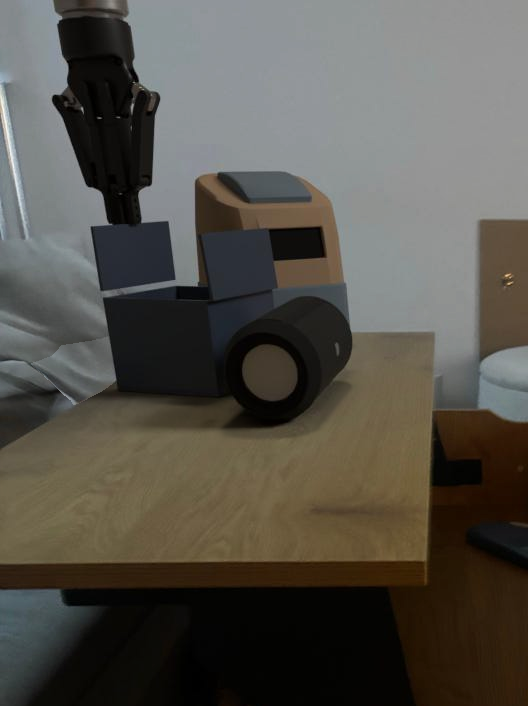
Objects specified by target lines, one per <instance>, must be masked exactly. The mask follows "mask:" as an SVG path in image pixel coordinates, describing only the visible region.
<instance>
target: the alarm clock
mask: <svg viewBox="0 0 528 706" xmlns="http://www.w3.org/2000/svg"><path fill="white" fill-rule="evenodd" d="M194 227H195V229H194V230H195V242H196V254H197V255H196V256H197V269H198V281H197V286H208V284H207V279H206V273H205V268H204V263H203V258H202V253H201V247H200V242H199V237H198V234H206V233H217V232H227V231H238V230H248V229H259V228H268V230H269V236H270V242H271V248H272V254H273V260H274V266H275V272H276V278H277V284H278V288H277V289H272V291H273V301H274V309H275V308H277V307H279V306H281V305H283V304H284V303H286V302H288V301H290V300H292V299H294V298H297V297H301V296H315V297H318V298H321V299H324V300H326V301H328V302H330V303H332V304H333V305H334V306H335V307H337V308H338V309H339V310H340V311H341V313H342V314H343V315H344V317H345V318H346V320H347V322H348V324H349V326H350V327H351V320H350V310H349V299H348V288H347V287H348V286H347V283H346V282H345V278H344V271H343V269H344V268H343V262H342V261H343V260H342V254H341V246H340V238H339V237H340V236H339V230H338V226H337V222H336V217H335V213H334V208H333V203H332V202H331V200H330V198H329V197H328V196H327V195H326V194H324V192H322V191H320V190H319V189H318V188H317V187H316V186H314V185H313V184H312V183H311V182H309V181H308V180H307V179H305V178H302V177H300V176H298V175H295V174H291V173H289V172H287V171H282V170H281V171H279V170H270V171H269V170H265V171H264V170H263V171H262V170H261V171H258V170H257V171H256V170H255V171H250V170H249V171H218V172H217V173H216V172H215V173H214V172H212V173H205V174H201V175H200V176H198V177H197V178H195V180H194Z"/></svg>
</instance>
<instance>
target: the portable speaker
mask: <svg viewBox="0 0 528 706" xmlns="http://www.w3.org/2000/svg"><path fill="white" fill-rule="evenodd" d="M352 350H353V334H352V330H351V325H350V326H349V324H348V322H347V320H346V318H345V317H344V315H343V314H342V313H341V311H340V310H339V309H338V308H337V307H335V306H334V305H333V304H332V303H330V302H328V301H326V300H324V299H321V298H318V297H315V296H301V297H297V298H294V299H292V300H290V301H288V302H286V303H284V304H283V305H281V306H279V307H277V308H275V309H274V310H272V311H270V312H268V313H266V314H265V315H263V316H261V317H259V318H258V319H256V320H254V321H252V322H250V323H249V324H247V325H245V326H243V327H242V328H241V329H239V330H238V331H237V332H236V333H235V334H234V335H233V337H232V338H231V340H230V341H229V343H228V345H227V348H226V350H225V354H224V360H223V371H224V377H225V381H226V384H227V386H228V389H229V391H230V392H231V393H230V394H231V396H232V397H233V399H234V400H235V401H236V402H237V404H238V405H240V406H241V407H242V408H243V409H244V410H245V411H246V412H248V413H249V414H252V416H255V417H257V418H259V419H264V420H266V421H268V422H288V421H290V420H292V419H293V418H297V417H298V416H300V415H302V414H303V413H305V412H306V411H307V410H308V409H309V408H310V407H311V406H312V405H313V404H314V402H315V400H316V399H317V398H318V397H319V396H320V395H321V394H322V393H323V391H324V390H326V388H328V386H329V385H330V383H332V381H333V380H334V379H335V378H336V377H337V375H339V374H340V373H341V372H342V371H343V370H344V368H345V367H346V366H347V364H348V362H349V360H350V358H351V355H352V352H353V351H352Z"/></svg>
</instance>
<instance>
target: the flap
mask: <svg viewBox="0 0 528 706" xmlns="http://www.w3.org/2000/svg"><path fill="white" fill-rule="evenodd" d="M169 222H170V221H169V220H162V221H161V220H160V221H159V220H158V221H147V222H141V223H140V224H117V225H112V224H104V225H91V226H90V227H89V228H90V234H91V239H92V241H91V242H92V246H93V252H94V259H95V266H96V272H97V279H98V285H99V290H100V292H108V291H114V290H120V289H127V288H132V287H133V288H134V287H139V286H146V285H153V284H158V283H164V282H165V283H166V282H170V281H171V282H172V281H176V280H177V278H176V269H175V262H174V255H173V254H174V253H173V247H172V246H173V245H172V238H171V230H170V229H171V228H170V223H169Z"/></svg>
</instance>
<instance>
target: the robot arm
mask: <svg viewBox="0 0 528 706" xmlns="http://www.w3.org/2000/svg"><path fill="white" fill-rule="evenodd" d="M52 2H53V8H54V12H55V14H57V15H58V16H60V17H61V19H59V20H58V22H57V24H56V28H57V33H58V39H59V45H60V50H61V55H62V58H63V59H64V61H65V62H66V65H67V75H66V84H67V86H66V87H65V89H64V90H63V91H62V92H61V94H53V95H52V96H51V102H52V105H53V106H54V107H55V109H56V111H57V113H58V114H59V115H60V117H61V118H62V121H63V124H64V127H65V130H66V133H67V136H68V138H69V141H70V144H71V147H72V150H73V153H74V155H75V158H76V161H77V164H78V167H79V169H80V172H81V175H82V178H83V180H84V183H85V186H86V187H87V188H89V189H91V188H92V189H95V190H96V191H99V192H100V193H101V195H102V198H103V205H104V212H105V216H106V220H107V223H108V225H117V224H140V223H142V220H143V217H142V210H141V204H140V198H139V196H140V195H139V194H140V191H141V190H143V189H145V188H147V187H149V188H150V187H151V186H152V185H153V173H154V172H153V171H154V149H155V125H156V114H157V112H158V108H159V105H160V103H161V95H160V93H159V92H157V91H153V90H150V89H148V88H147V87H146V86H144V85H143V84H142V83H140V77H139V76H138V73H137V71H136V69H135V67H134V60H135V58H136V55H135V47H134V46H135V45H134V40H133V33H132V27H131V25H130V24H129V22H128V21H125V18H127V17H128V16H129V15H130V9H129V3H128V0H52ZM132 105H133V106H132Z"/></svg>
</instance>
